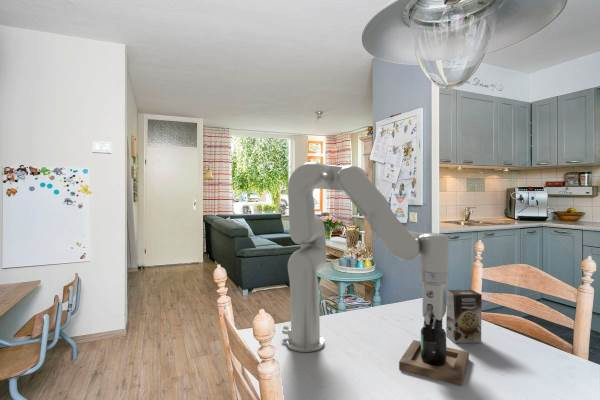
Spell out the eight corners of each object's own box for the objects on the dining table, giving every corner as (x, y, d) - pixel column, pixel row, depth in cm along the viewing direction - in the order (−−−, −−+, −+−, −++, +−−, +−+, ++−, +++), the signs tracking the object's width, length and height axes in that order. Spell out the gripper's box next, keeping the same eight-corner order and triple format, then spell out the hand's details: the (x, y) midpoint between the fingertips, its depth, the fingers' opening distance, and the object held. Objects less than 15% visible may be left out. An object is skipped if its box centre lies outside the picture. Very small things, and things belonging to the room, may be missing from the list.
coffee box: (455, 344, 110) (454, 295, 110) (445, 335, 117) (445, 289, 116) (482, 343, 110) (482, 294, 110) (471, 335, 117) (471, 288, 116)
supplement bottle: (418, 362, 97) (417, 321, 96) (424, 352, 102) (423, 313, 102) (444, 369, 93) (443, 325, 93) (448, 358, 99) (447, 317, 98)
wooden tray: (399, 369, 95) (399, 361, 95) (413, 346, 109) (413, 339, 109) (461, 385, 87) (461, 377, 87) (468, 359, 100) (468, 351, 100)
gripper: (442, 285, 88) (441, 350, 88) (452, 272, 102) (451, 327, 103) (412, 281, 92) (412, 343, 92) (426, 268, 106) (426, 322, 107)
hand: (433, 335), depth 98 cm, fingers open, 9 cm apart
